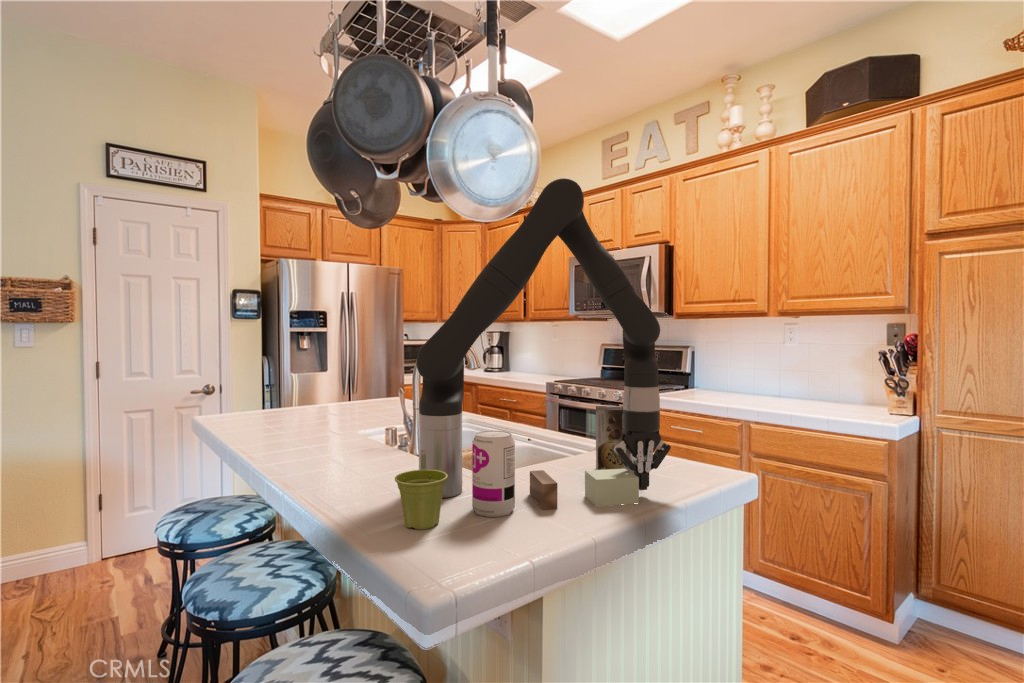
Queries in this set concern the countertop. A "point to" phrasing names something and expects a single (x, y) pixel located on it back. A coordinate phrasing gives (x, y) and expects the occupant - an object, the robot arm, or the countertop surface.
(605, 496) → the block
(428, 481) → the plant pot
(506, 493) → the supplement can
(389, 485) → the countertop surface
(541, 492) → the brown wooden block
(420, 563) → the countertop surface
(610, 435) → the coffee box
